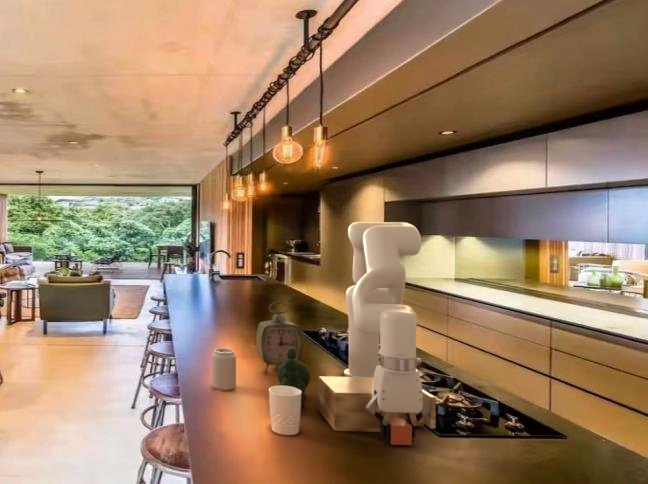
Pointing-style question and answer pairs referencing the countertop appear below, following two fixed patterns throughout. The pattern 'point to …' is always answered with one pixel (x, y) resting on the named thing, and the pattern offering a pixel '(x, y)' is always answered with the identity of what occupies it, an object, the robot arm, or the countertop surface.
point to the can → (224, 369)
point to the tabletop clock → (278, 339)
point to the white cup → (285, 409)
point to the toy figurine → (294, 374)
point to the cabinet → (348, 403)
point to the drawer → (431, 416)
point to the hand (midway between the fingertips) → (397, 439)
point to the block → (400, 432)
